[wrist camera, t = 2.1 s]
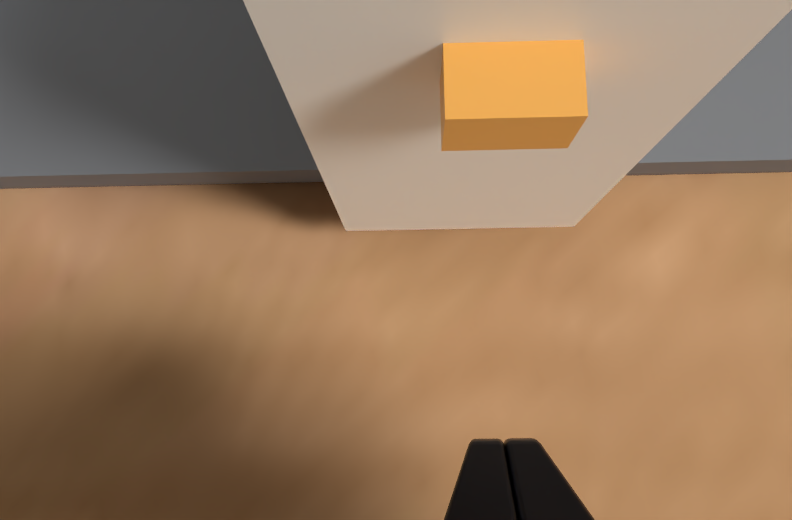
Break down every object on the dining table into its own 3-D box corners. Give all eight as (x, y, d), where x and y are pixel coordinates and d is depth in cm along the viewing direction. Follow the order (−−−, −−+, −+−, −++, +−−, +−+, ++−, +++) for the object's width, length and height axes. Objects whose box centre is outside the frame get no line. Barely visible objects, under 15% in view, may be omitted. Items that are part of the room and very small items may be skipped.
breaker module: (576, 262, 16) (831, 68, 6) (345, 266, 16) (239, 83, 6) (559, -27, 17) (754, -577, 7) (345, -21, 17) (253, -555, 7)
